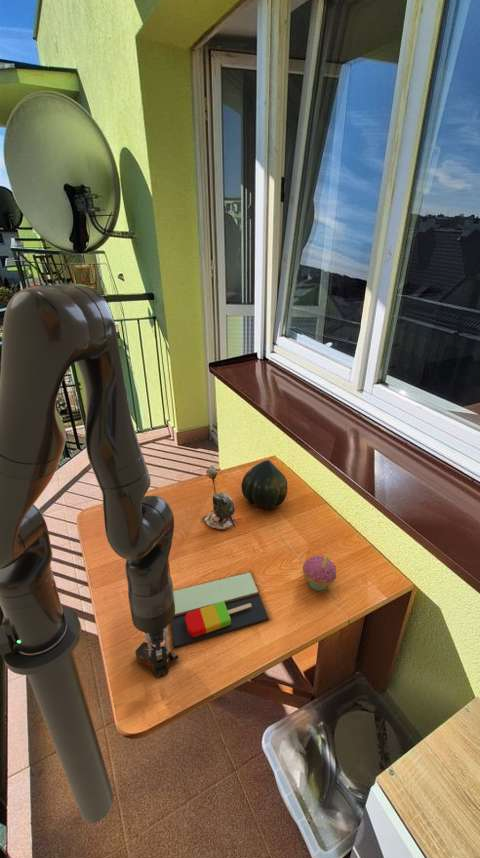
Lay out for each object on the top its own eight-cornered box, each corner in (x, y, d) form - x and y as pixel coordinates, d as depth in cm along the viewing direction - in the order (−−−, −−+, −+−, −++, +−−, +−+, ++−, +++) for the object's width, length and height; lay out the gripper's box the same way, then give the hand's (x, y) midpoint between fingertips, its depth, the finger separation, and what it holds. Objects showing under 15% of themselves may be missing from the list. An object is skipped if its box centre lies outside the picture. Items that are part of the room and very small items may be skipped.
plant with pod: (219, 539, 108) (220, 481, 99) (199, 518, 115) (198, 462, 106) (243, 528, 113) (245, 472, 103) (222, 508, 120) (223, 454, 111)
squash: (254, 510, 112) (281, 467, 113) (225, 488, 122) (251, 448, 123) (279, 521, 123) (304, 482, 124) (251, 500, 132) (274, 464, 134)
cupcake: (340, 589, 96) (348, 554, 90) (312, 602, 92) (319, 566, 86) (321, 565, 102) (327, 532, 97) (294, 576, 98) (299, 542, 93)
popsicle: (183, 618, 84) (183, 612, 83) (247, 598, 90) (247, 592, 90) (189, 640, 80) (189, 634, 79) (255, 617, 86) (255, 611, 85)
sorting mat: (174, 648, 79) (174, 645, 78) (166, 594, 90) (165, 591, 90) (268, 619, 86) (268, 617, 86) (250, 573, 98) (250, 571, 97)
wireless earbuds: (164, 679, 73) (163, 669, 72) (135, 662, 76) (133, 652, 74) (179, 658, 77) (178, 648, 75) (151, 643, 79) (150, 633, 78)
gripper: (127, 573, 72) (137, 628, 79) (131, 639, 60) (142, 697, 68) (168, 563, 74) (173, 618, 82) (179, 625, 63) (184, 682, 70)
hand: (159, 654), depth 75 cm, fingers open, 8 cm apart
